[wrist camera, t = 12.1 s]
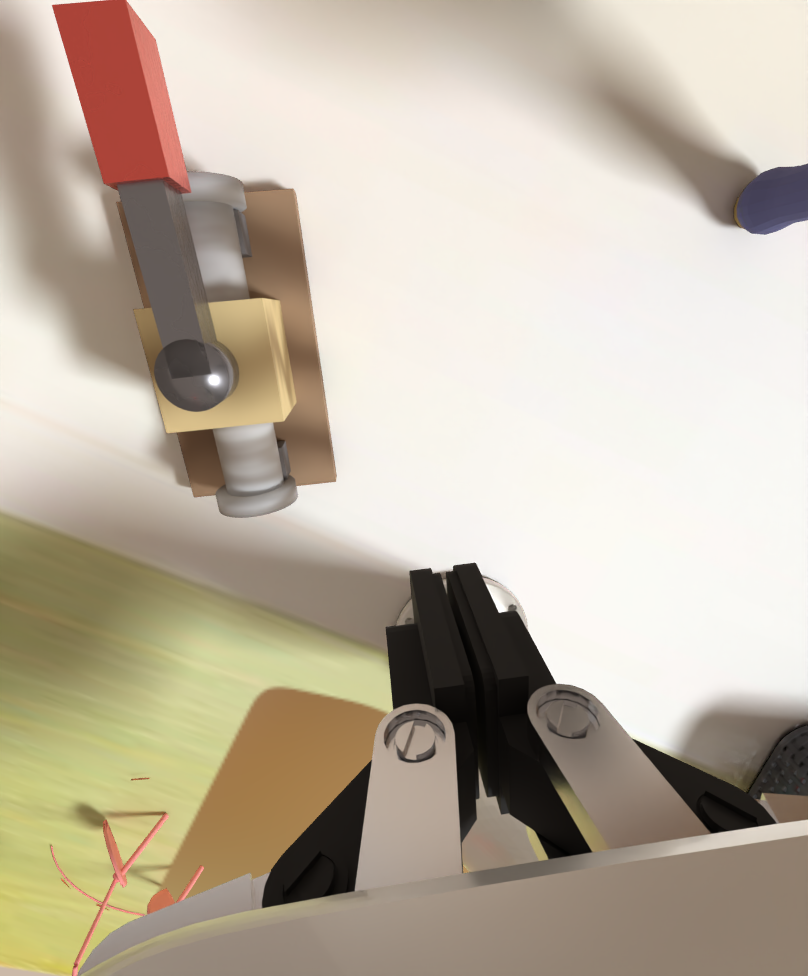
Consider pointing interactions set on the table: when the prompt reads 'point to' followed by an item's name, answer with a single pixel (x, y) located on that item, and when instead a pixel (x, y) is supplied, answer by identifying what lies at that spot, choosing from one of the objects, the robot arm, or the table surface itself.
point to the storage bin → (785, 767)
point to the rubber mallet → (773, 200)
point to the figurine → (157, 900)
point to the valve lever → (148, 190)
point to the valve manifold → (250, 351)
